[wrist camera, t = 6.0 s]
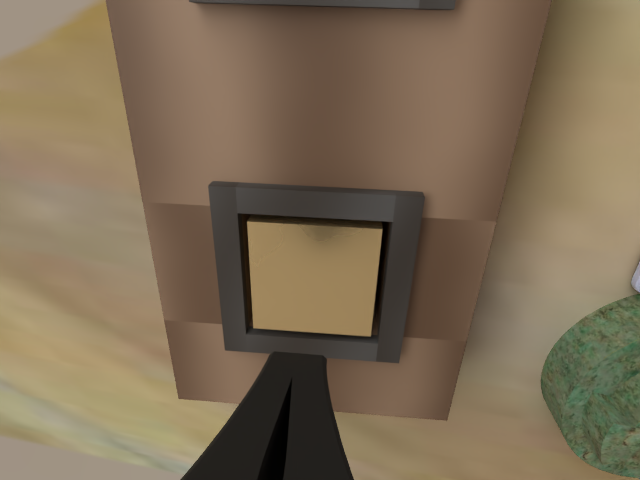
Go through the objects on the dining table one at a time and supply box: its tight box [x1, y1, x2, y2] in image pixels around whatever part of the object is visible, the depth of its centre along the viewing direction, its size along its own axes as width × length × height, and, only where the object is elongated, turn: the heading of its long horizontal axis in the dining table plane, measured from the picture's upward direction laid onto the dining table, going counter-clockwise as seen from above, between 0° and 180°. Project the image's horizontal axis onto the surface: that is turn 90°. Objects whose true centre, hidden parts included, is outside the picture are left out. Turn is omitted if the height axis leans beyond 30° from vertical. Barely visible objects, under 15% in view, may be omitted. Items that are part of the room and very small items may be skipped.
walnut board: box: [106, 0, 552, 420], centre depth 14 cm, size 12×26×4 cm, turn 178°
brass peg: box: [247, 214, 383, 337], centre depth 16 cm, size 4×4×4 cm
